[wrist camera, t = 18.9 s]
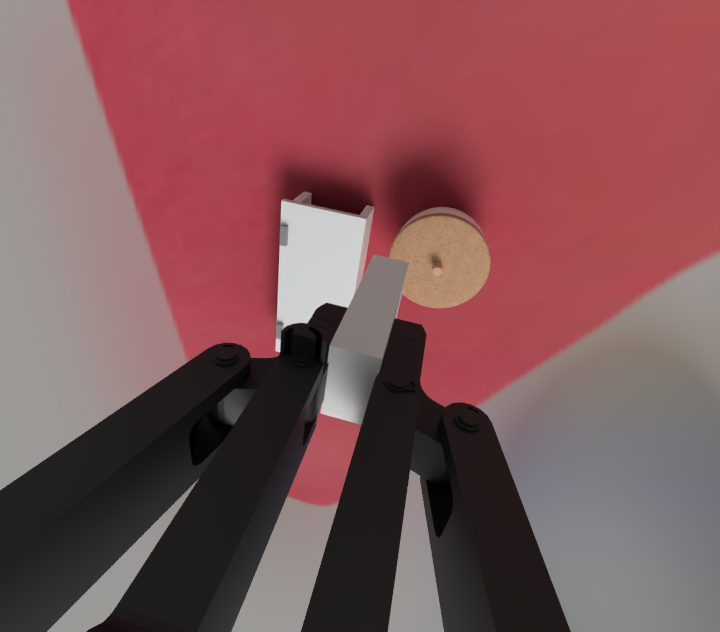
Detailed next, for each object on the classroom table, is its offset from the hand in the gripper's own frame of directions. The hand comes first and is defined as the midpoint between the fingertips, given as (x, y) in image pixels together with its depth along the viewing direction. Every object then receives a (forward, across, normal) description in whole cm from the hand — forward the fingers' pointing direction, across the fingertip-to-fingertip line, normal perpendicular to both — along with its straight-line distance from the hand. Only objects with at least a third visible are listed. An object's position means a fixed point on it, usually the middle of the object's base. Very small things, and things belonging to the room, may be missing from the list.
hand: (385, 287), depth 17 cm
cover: (+28, -10, -18) cm, 35 cm away
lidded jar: (+33, +3, -9) cm, 34 cm away
